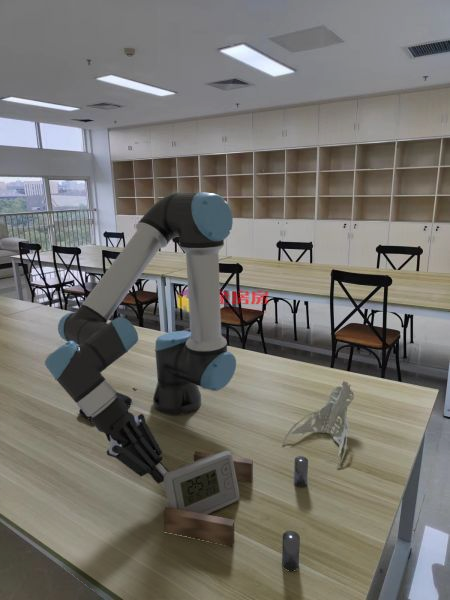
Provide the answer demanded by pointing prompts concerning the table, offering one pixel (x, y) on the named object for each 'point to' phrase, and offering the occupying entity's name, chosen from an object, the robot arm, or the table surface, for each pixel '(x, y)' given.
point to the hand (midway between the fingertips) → (173, 489)
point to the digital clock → (203, 484)
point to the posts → (290, 537)
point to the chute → (205, 524)
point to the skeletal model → (330, 417)
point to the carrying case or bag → (124, 397)
